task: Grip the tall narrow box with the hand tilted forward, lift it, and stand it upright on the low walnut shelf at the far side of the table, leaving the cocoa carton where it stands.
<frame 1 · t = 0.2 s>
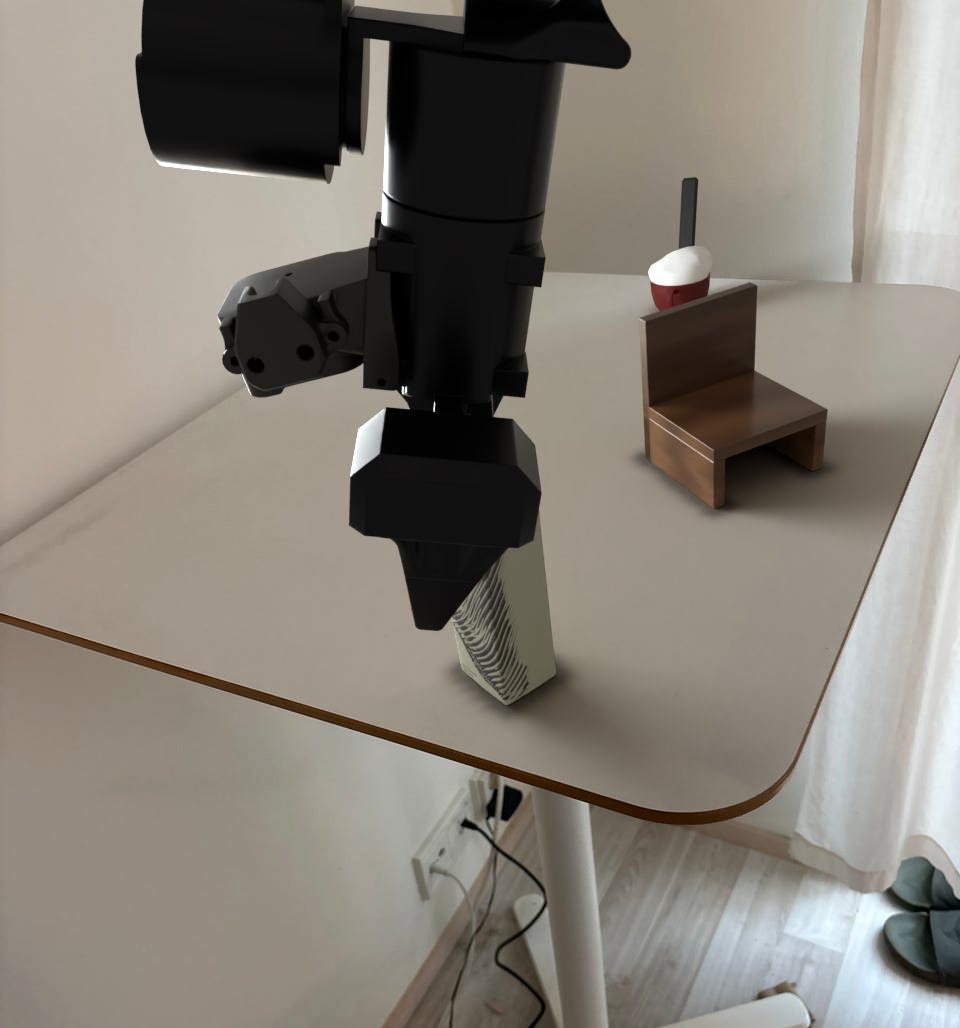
hand: (430, 565, 43), 16 cm above the table, tool pointing down, fingers open, 9 cm apart
cocoa: (683, 311, 103), on the table
shelf: (730, 462, 77), on the table
box: (511, 676, 61), on the table
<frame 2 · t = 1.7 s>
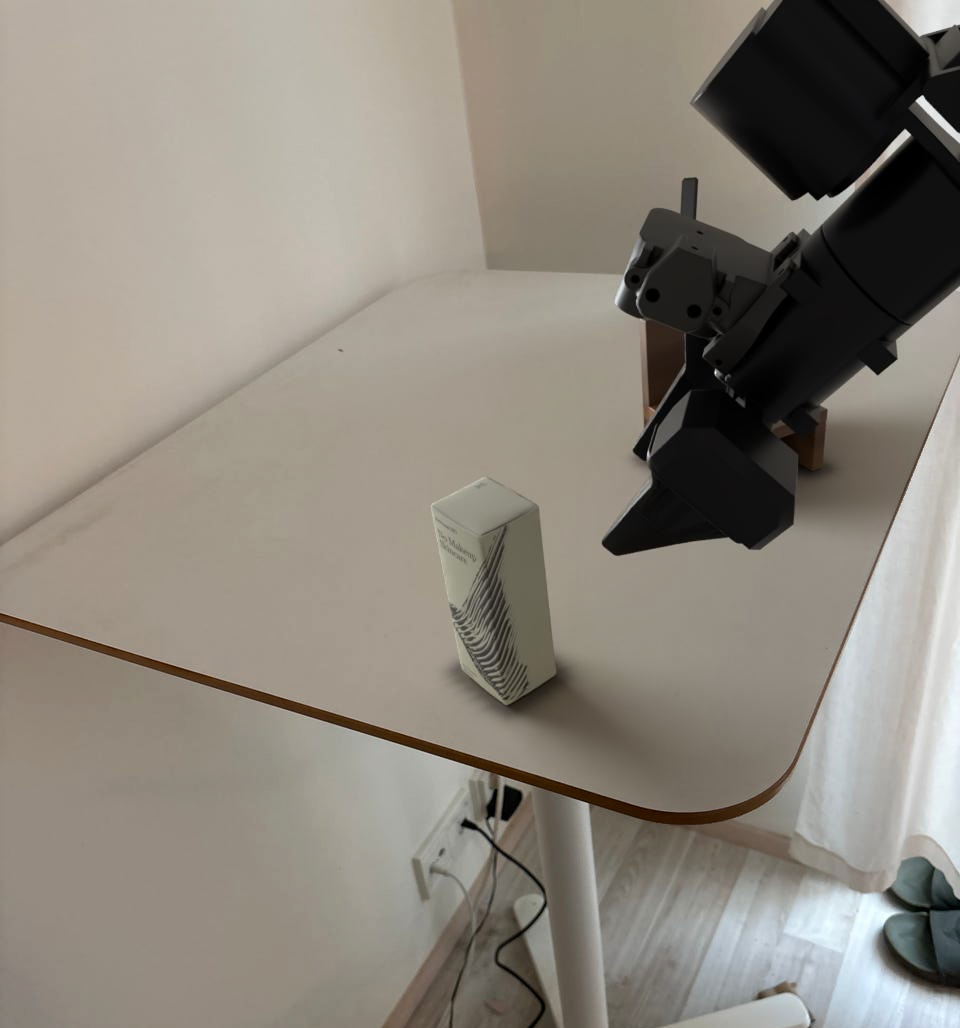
hand: (624, 498, 50), 13 cm above the table, tool tilted 45°, fingers open, 9 cm apart
nothing on the table moved.
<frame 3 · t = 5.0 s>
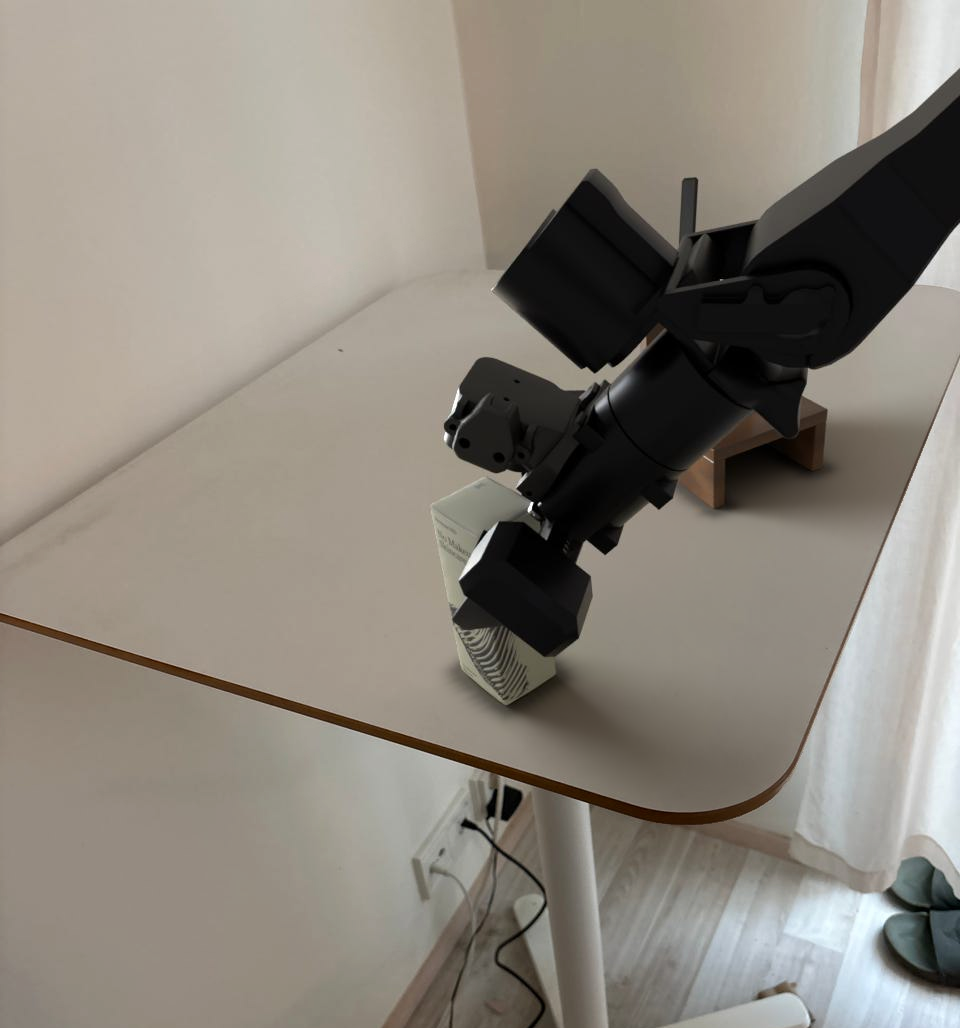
hand: (474, 590, 57), 7 cm above the table, tool tilted 45°, fingers closed on box, 6 cm apart
box: (511, 676, 61), on the table, touching gripper
everything else where it was.
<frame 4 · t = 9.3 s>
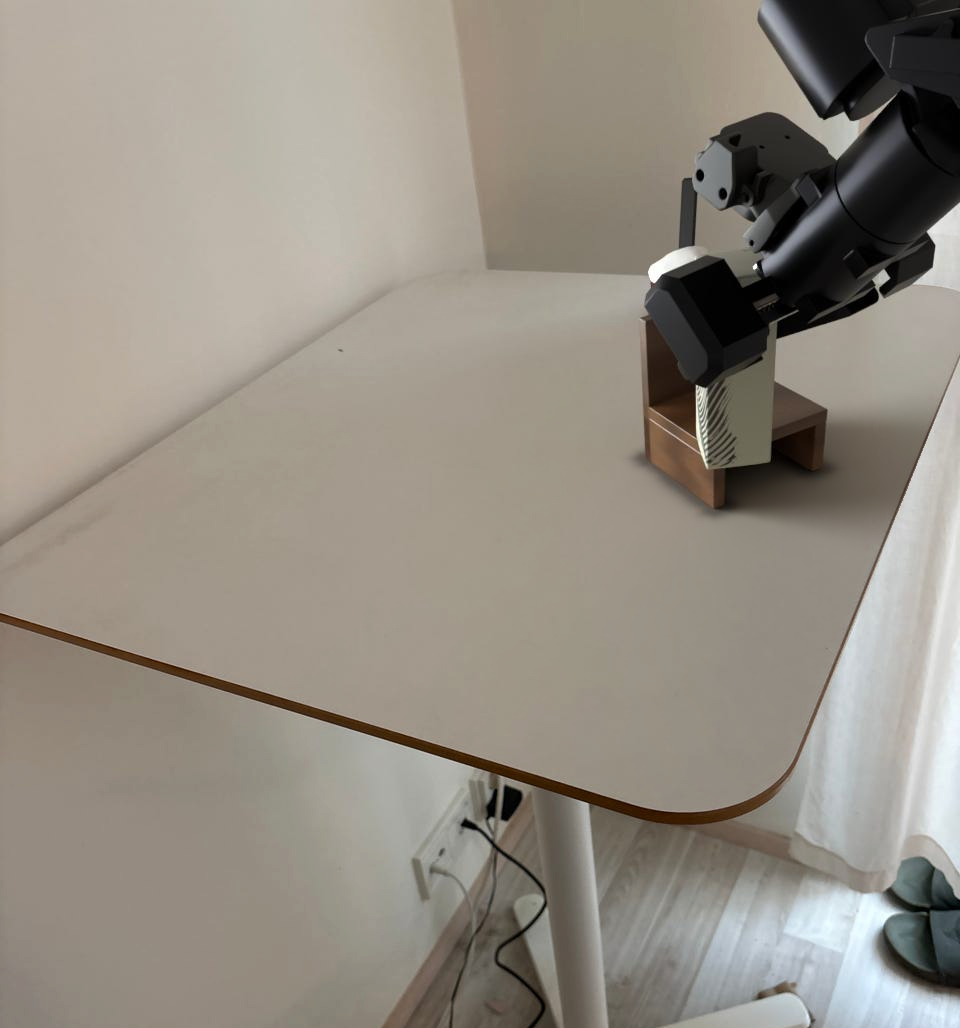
hand: (719, 354, 62), 13 cm above the table, tool tilted 45°, fingers closed on box, 6 cm apart
box: (733, 454, 65), point 7 cm above the table, touching gripper
everything else where it was.
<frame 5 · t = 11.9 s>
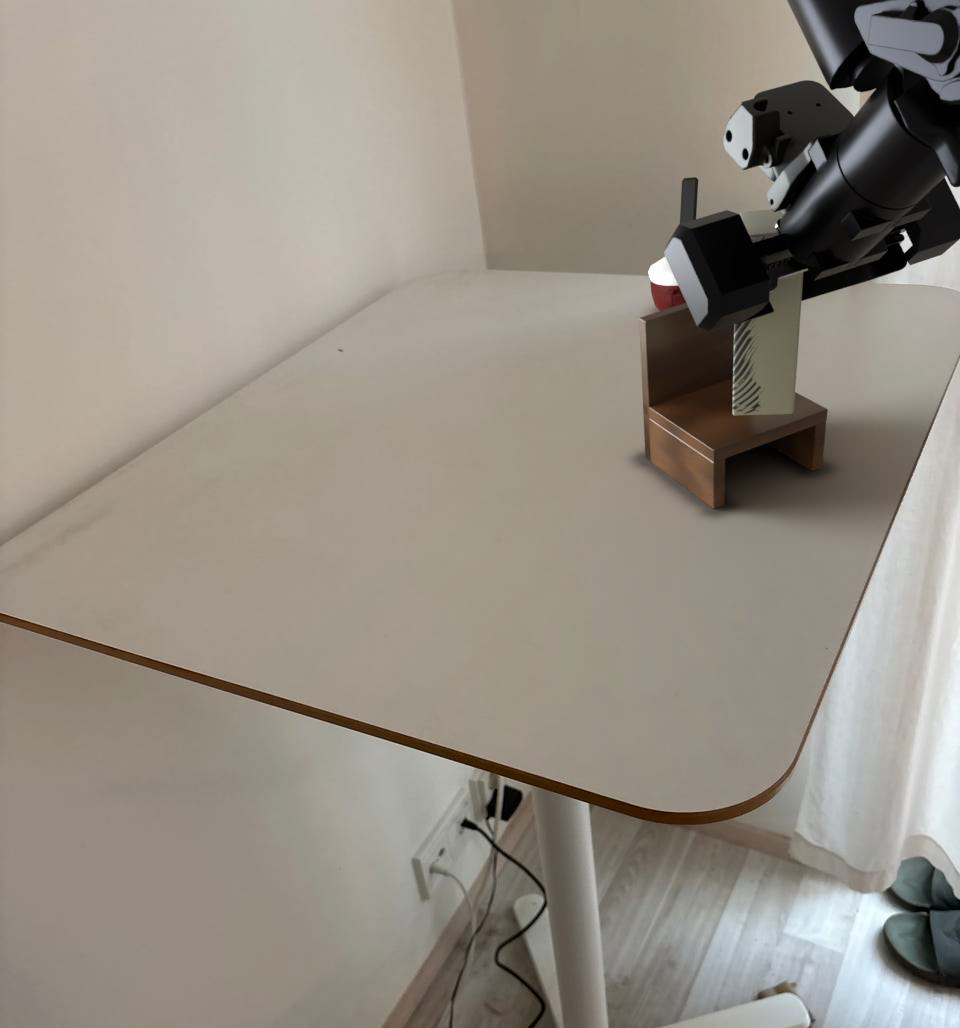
hand: (755, 308, 67), 13 cm above the table, tool tilted 45°, fingers closed on box, 6 cm apart
box: (763, 404, 70), point 7 cm above the table, touching gripper
everything else where it was.
when the fingers open (12 cm above the table, at t = 14.0 s): box stays where it is, resting on shelf.
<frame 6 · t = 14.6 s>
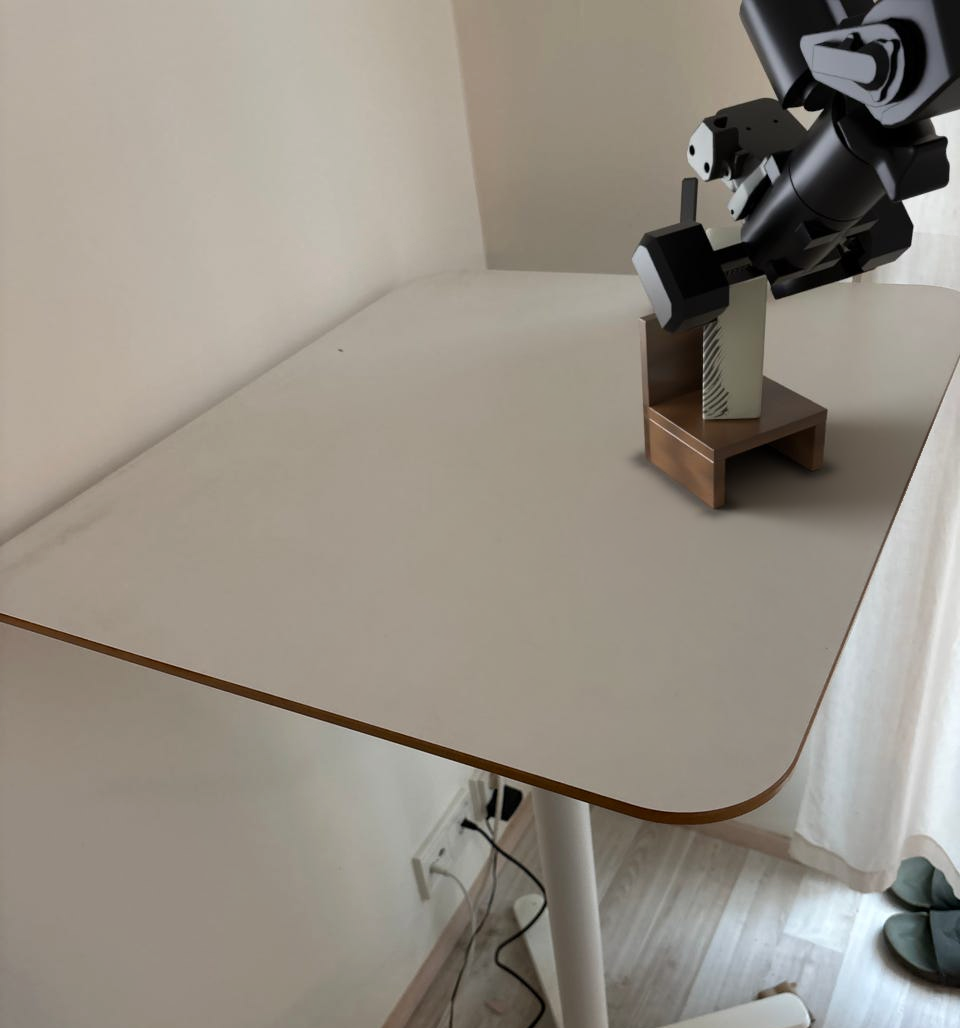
hand: (722, 310, 70), 12 cm above the table, tool tilted 45°, fingers open, 9 cm apart
box: (732, 408, 74), point 5 cm above the table, touching shelf
everything else where it was.
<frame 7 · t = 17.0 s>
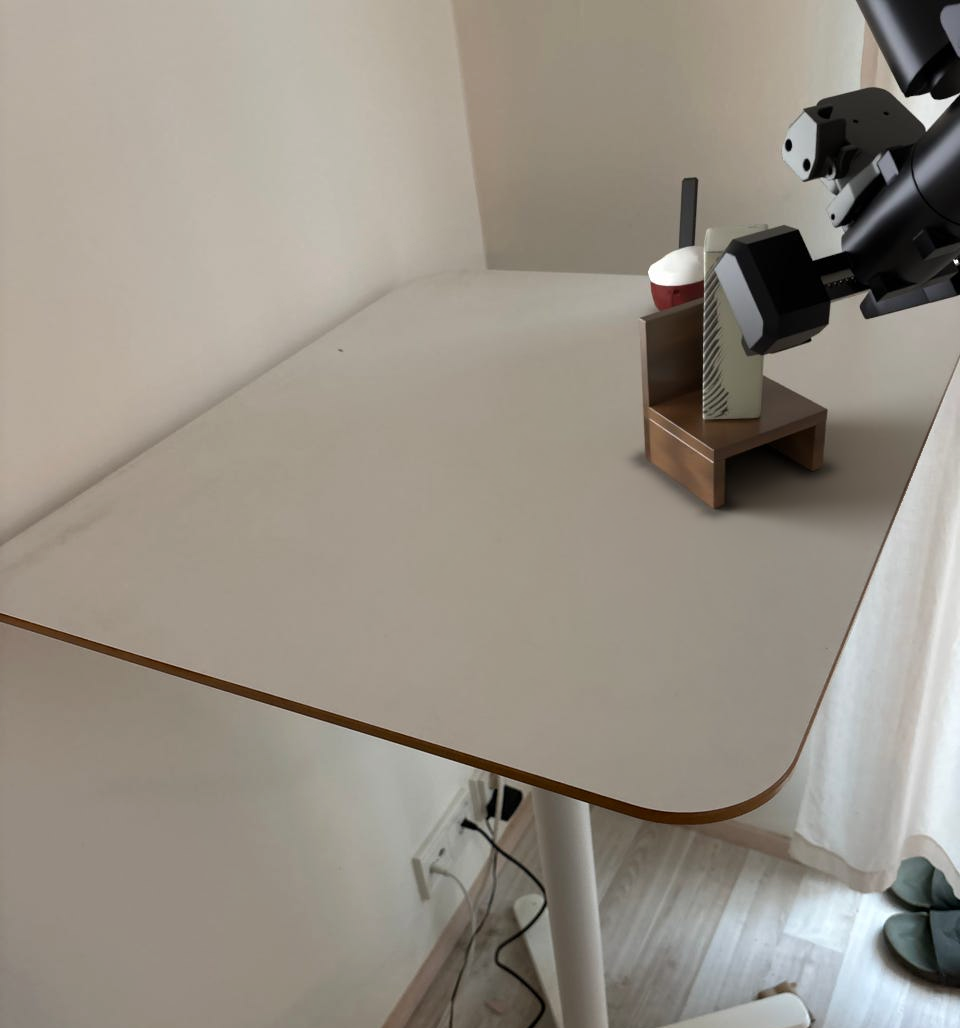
hand: (805, 330, 62), 14 cm above the table, tool tilted 45°, fingers open, 9 cm apart
nothing on the table moved.
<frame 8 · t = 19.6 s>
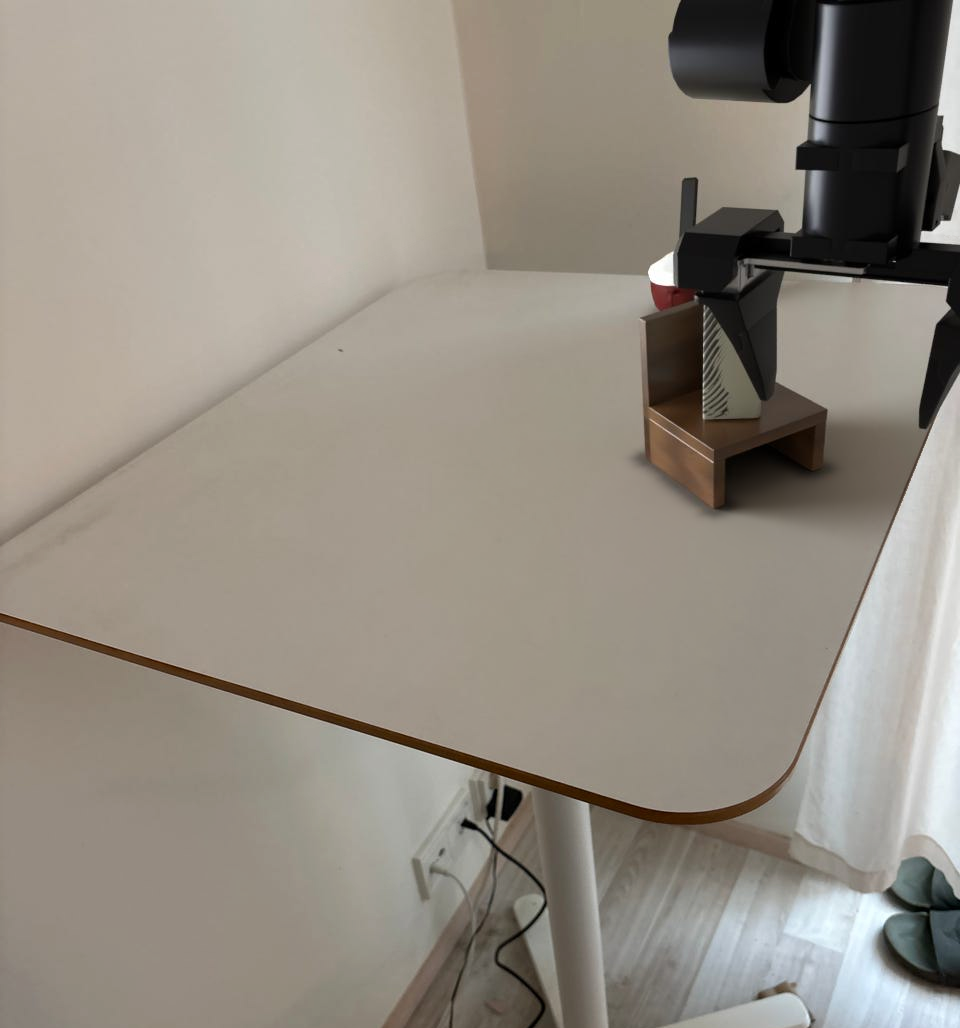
hand: (842, 411, 55), 13 cm above the table, tool pointing down, fingers open, 9 cm apart
nothing on the table moved.
at the end: box inside the target area on the shelf (0.1 cm from its centre), point 4.8 cm above the shelf's base; box tilted 0°; cocoa moved 0.2 cm from its start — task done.
